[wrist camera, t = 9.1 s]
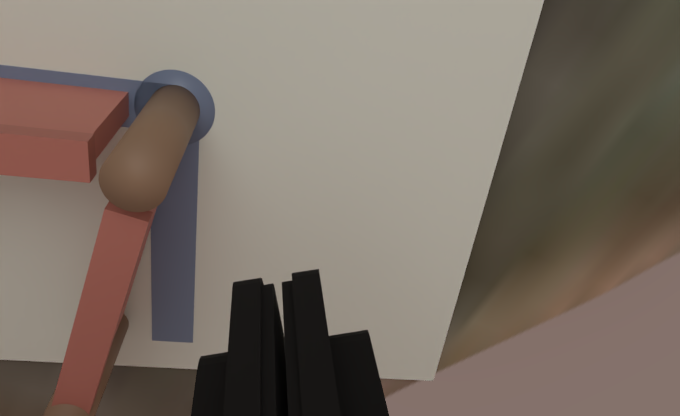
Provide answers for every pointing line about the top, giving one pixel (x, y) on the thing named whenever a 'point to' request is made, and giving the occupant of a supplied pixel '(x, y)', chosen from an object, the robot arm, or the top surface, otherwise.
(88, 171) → the fence fixed
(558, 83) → the top surface
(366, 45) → the card
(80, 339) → the fence panel
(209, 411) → the robot arm
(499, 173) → the top surface
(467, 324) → the top surface
